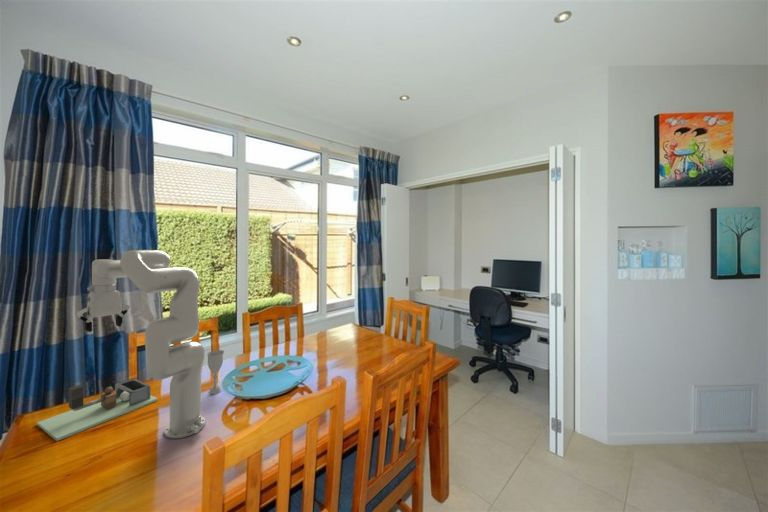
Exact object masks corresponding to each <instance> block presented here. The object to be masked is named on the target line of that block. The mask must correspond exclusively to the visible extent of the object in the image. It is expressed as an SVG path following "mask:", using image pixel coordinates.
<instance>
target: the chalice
mask: <svg viewBox="0 0 768 512" xmlns="http://www.w3.org/2000/svg"><path fill="white" fill-rule="evenodd" d="M224 353H225V351H224V350H222V349H215V350H211V351H209V352H207V353H206V356H207V367H208V369H209V370H210V372H211V374H213V380H212V382H213V385H212V386H211V387H210V389H209V391H208V394H209V395H217V394H219V393H220V392H221V391H222V389H221V385H218V384H217V382H218V380H217V378H218V376H217V374H218V373H219V371H220V370H221V369H222V366H223V363H224ZM216 393H217V394H216Z"/></svg>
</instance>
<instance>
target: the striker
mask: <svg viewBox="0 0 768 512" xmlns="http://www.w3.org/2000/svg"><path fill="white" fill-rule="evenodd" d="M100 402H101V406H102V407H104V408H106V409H109V408H112V407H114V406H116V393H115V391H114V388H113V387H112V386H107V387H105V388H104V391H103V392H101V393H100V397H99V398H97V399H93V400H91V401H88V402H85V403H84V386H83V385H81V384H78V385H75V386H72V387H69V388H68V408H70V410H73V411H77V410H80V409H83V408H86V407H88V406H91V405H94V404H97V403H100Z"/></svg>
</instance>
